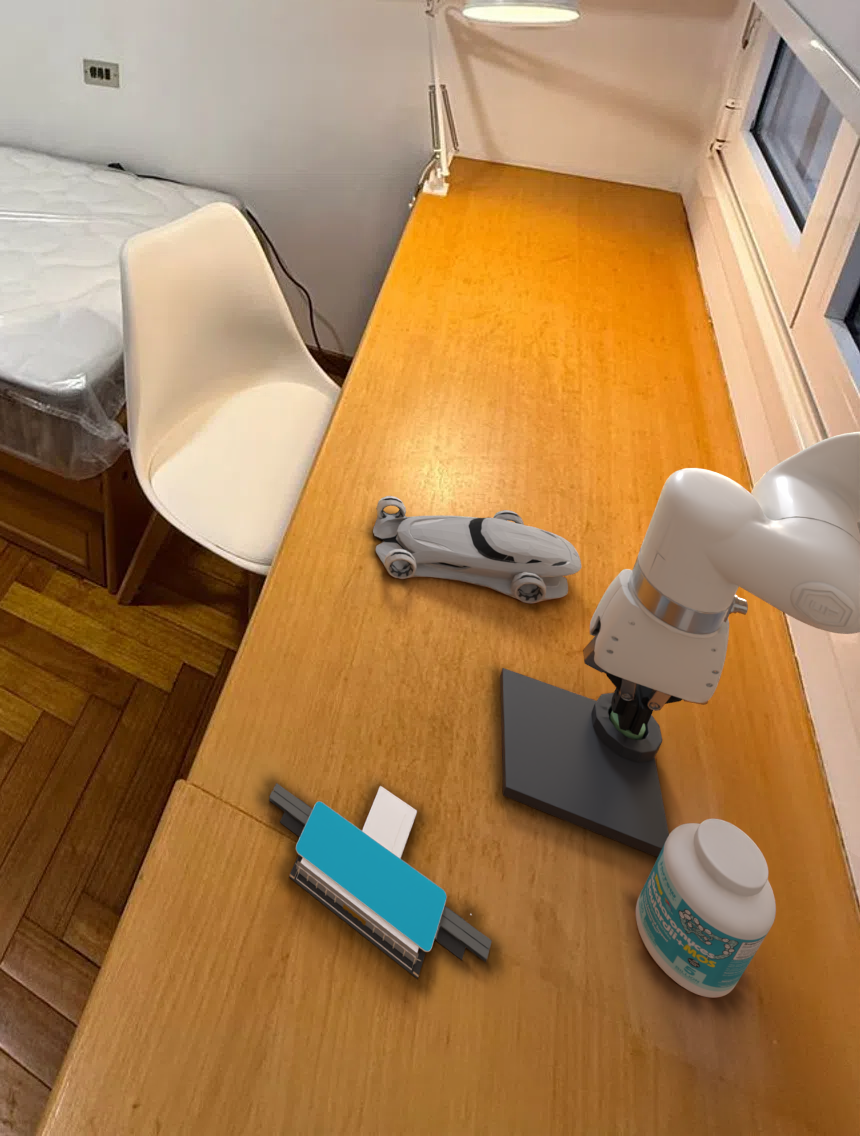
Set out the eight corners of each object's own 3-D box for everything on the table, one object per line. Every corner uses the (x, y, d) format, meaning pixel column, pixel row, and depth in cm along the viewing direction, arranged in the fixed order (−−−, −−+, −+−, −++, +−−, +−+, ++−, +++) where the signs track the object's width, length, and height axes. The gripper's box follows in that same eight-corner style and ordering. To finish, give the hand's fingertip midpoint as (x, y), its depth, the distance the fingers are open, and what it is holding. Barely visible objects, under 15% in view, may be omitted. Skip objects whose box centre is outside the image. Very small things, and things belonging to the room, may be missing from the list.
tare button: (639, 722, 87) (642, 712, 86) (643, 750, 84) (648, 740, 84) (606, 710, 88) (610, 700, 87) (610, 737, 85) (614, 727, 85)
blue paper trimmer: (507, 878, 75) (510, 867, 75) (471, 1021, 66) (475, 1010, 66) (301, 737, 86) (303, 726, 86) (246, 843, 77) (248, 833, 77)
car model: (369, 509, 114) (374, 481, 112) (559, 538, 110) (568, 510, 108) (379, 579, 104) (385, 549, 102) (588, 613, 100) (598, 583, 98)
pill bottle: (613, 912, 73) (655, 817, 68) (673, 877, 76) (718, 783, 70) (694, 1021, 67) (748, 926, 62) (757, 979, 69) (813, 884, 64)
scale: (648, 724, 88) (655, 706, 87) (673, 864, 77) (683, 844, 75) (499, 672, 93) (505, 653, 92) (503, 795, 82) (509, 776, 80)
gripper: (761, 586, 79) (702, 714, 86) (584, 534, 84) (543, 658, 91) (786, 656, 73) (721, 787, 80) (593, 595, 78) (548, 723, 85)
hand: (626, 718), depth 85 cm, fingers closed
